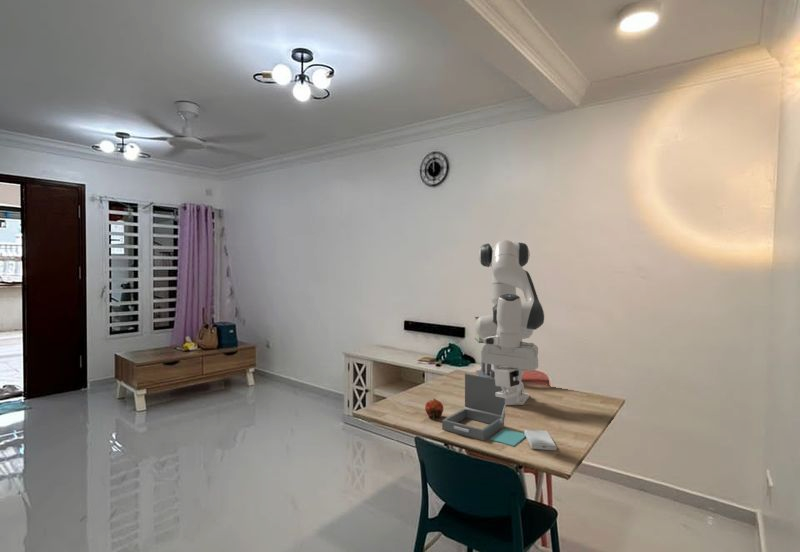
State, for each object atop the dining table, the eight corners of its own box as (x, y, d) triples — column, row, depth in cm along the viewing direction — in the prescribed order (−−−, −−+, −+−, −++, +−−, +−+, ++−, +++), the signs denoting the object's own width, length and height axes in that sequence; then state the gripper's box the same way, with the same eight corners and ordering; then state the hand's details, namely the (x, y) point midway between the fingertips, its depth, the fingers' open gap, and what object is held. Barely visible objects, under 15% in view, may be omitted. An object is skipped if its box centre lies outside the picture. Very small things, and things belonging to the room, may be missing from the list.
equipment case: (465, 416, 175) (465, 373, 174) (507, 426, 164) (507, 380, 163) (441, 429, 160) (441, 383, 160) (484, 442, 149) (484, 392, 149)
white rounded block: (510, 399, 148) (507, 370, 148) (494, 396, 153) (492, 368, 154) (521, 396, 151) (519, 367, 152) (505, 393, 157) (503, 365, 157)
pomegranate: (443, 425, 171) (447, 404, 178) (439, 414, 166) (442, 393, 174) (425, 425, 173) (430, 404, 181) (421, 414, 169) (425, 393, 177)
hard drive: (524, 429, 155) (531, 444, 143) (547, 430, 155) (556, 445, 142) (524, 433, 155) (531, 449, 143) (547, 435, 155) (556, 450, 142)
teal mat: (504, 429, 160) (504, 428, 160) (527, 435, 155) (527, 434, 155) (489, 440, 151) (489, 438, 151) (513, 446, 145) (513, 445, 145)
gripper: (541, 342, 148) (541, 382, 148) (487, 336, 161) (487, 372, 161) (534, 345, 143) (534, 386, 143) (479, 338, 156) (479, 376, 156)
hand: (508, 379), depth 152 cm, fingers closed on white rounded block, 6 cm apart
